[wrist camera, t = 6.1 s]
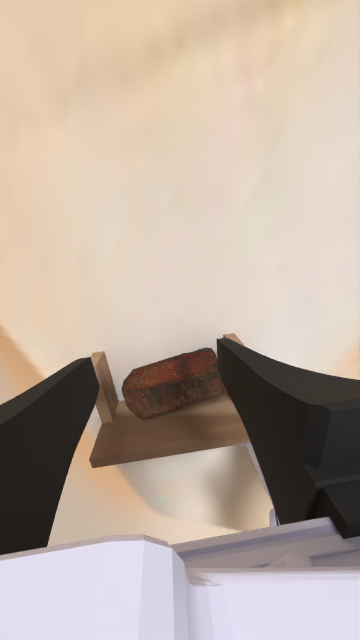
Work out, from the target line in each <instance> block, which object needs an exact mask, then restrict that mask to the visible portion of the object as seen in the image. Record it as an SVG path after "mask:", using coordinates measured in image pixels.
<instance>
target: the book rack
mask: <svg viewBox="0 0 360 640" xmlns="http://www.w3.org/2000/svg"><path fill="white" fill-rule="evenodd" d="M224 338H229V339H231V340H233V341H235V342H237V343H239V344H241V345H243V346H244V344H243V343H242V342H241V341H240V340H239V339H238V337H237V336H236V335H235V334H234V333H233V334H226V335H224ZM91 360H92V363H93V366H94V370H95V373H96V376H97V379H98V382H99V385H100V389H99V393H98V397H97V400H96V403H95V404H96V407H97V410H98V413H99V415H100V418H101V421H102V425H101V428H100V431H99V434H98V436H97V439H96V442H95V445H94V448H93V451H92V453H91V456H90V459H89V460H90V463H91V465H92V468H97V467H103V466H109V465H115V464H121V463H128V462H134V461H140V460H146V459H152V458H158V457H164V456H171V455H177V454H183V453H189V452H195V451H201V450H208V449H214V448H220V447H226V446H232V445H238V444H245V443H251V442H250V439H249V437H248V434H247V432H246V429H245V427H244V424H243V422H242V420H241V418H240V416H239V414H238V412H237V410H236V408H235V406H234V404H233V402H232V400H231V398H230V396H229V394H228V392H227V393H226V394H224V395H222V396H219V397H216V398H212V399H210V400H206V401H202V402H198V403H195V404H192V405H188V406H185V407H181V408H179V409H176V410H172V411H169V412H165V413H162V414H159V415H155V416H152V417H149V418H140V417H138V415H137V414H135V413H134V412H132V411H131V410H130V409H129V408H128V407H127V406H126V403H125V401H121V402H119V401H118V398H117V394H116V391H115V387H114V384H113V380H112V377H111V374H110V370H109V367H108V363H107V360H106V356H105V353H104V352H97V353H93V354H92V356H91Z"/></svg>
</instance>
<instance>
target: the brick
mask: <svg viewBox="0 0 360 640" xmlns="http://www.w3.org/2000/svg"><path fill="white" fill-rule="evenodd" d="M122 393H123V396H124V398H125V403H126V406H127V407H128V408H129V409H130V410H131V411H132V412H134V413H135V414H137V415H138V417H140V418H149V417H152V416H155V415H159V414H162V413H165V412H169V411H172V410H176V409H179V408H181V407H185V406H188V405H192V404H195V403H198V402H202V401H206V400H210V399H212V398H216V397H219V396H222V395H224V394H226V393H227V390H226V388H225V386H224V384H223V382H222V379H221V376H220V373H219V370H218V360H217V357H216V355H215V352H214V351H213V350H212V349H211V348H203V349H199V350H197V351H194V352H190V353H184V354H181V355H178V356H175V357H171V358H168V359H165V360H162V361H159V362H155V363H152V364H149V365H146V366H143V367H140V368H137V369H133V370H132V372H131V373H130V375H129V376H128V377H127V378H126V379H125V380H124V382H123V386H122Z"/></svg>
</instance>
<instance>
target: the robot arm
mask: <svg viewBox="0 0 360 640" xmlns="http://www.w3.org/2000/svg"><path fill="white" fill-rule="evenodd" d="M217 355H218V370H219V373H220V376H221V379H222V382H223V384H224V386H225V388H226V390H227V392H228V394H229V396H230V398H231V400H232V402H233V404H234V406H235V408H236V410H237V412H238V414H239V416H240V418H241V420H242V422H243V424H244V427H245V429H246V432H247V434H248V437H249V439H250V442H251V443H245V444H239V446H246V447H247V449H248V451H249V454H250V456H251V459H252V461H253V463H254V466H255V468H256V470H257V473H258V475H259V477H260V480H261V482H262V484H263V487H264V489H265V491H266V492H267V494H268V495H269V497H270V499H271V501H272V504H273V506H274V508H273V509H271V511H270V515H269V517H270V527H267V528H262V529H256V530H251V531H245V532H240V533H234V534H229V535H223V536H218V537H212V538H207V539H201V540H196V541H190V542H185V543H179V544H174V545H169V544H168V543H167V542H166V541H162V540H159V539H156V538H152V537H149V536H146V535H119V536H118V535H115V536H107V537H101V538H96V539H90V540H84V541H78V542H73V543H68V544H61V545H56V546H50V547H47V545H48V540H49V536H50V533H51V529H52V525H53V522H54V518H55V514H56V510H57V507H58V503H59V500H60V496H61V493H62V490H63V486H64V483H65V480H66V476H67V473H68V470H69V467H70V464H71V461H72V458H73V455H74V452H75V450H76V447H77V445H78V442H79V440H80V438H81V435H82V433H83V431H84V429H85V427H86V424H87V422H88V420H89V418H90V415H91V413H92V411H93V408H94V406H95V403H96V400H97V397H98V393H99V389H100V385H99V382H98V379H97V376H96V373H95V370H94V366H93V363H92V360H91V357H87V358H80V359H78V360H76V361H74V362H72V363H70V364H69V365H67V366H65V367H64V368H62V369H61V370H59V371H57V372H56V373H54V374H53V375H51V376H50V377H48V378H46V379H45V380H43V381H42V382H40V383H38V384H37V385H35V386H33V387H32V388H30V389H28V390H27V391H25V392H24V393H22V394H20V395H18V396H16V397H15V398H13V399H11V400H9V401H7V402H5V403H3V404H1V405H0V640H360V380H355V379H348V378H342V377H337V376H331V375H326V374H322V373H317V372H313V371H309V370H305V369H301V368H298V367H294V366H291V365H288V364H285V363H282V362H279V361H276V360H274V359H271V358H269V357H266V356H264V355H262V354H259V353H257V352H255V351H253V350H251V349H249V348H247V347H245V346H243V345H241V344H239V343H237V342H235V341H233V340H231V339H229V338H222V339H217Z"/></svg>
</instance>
